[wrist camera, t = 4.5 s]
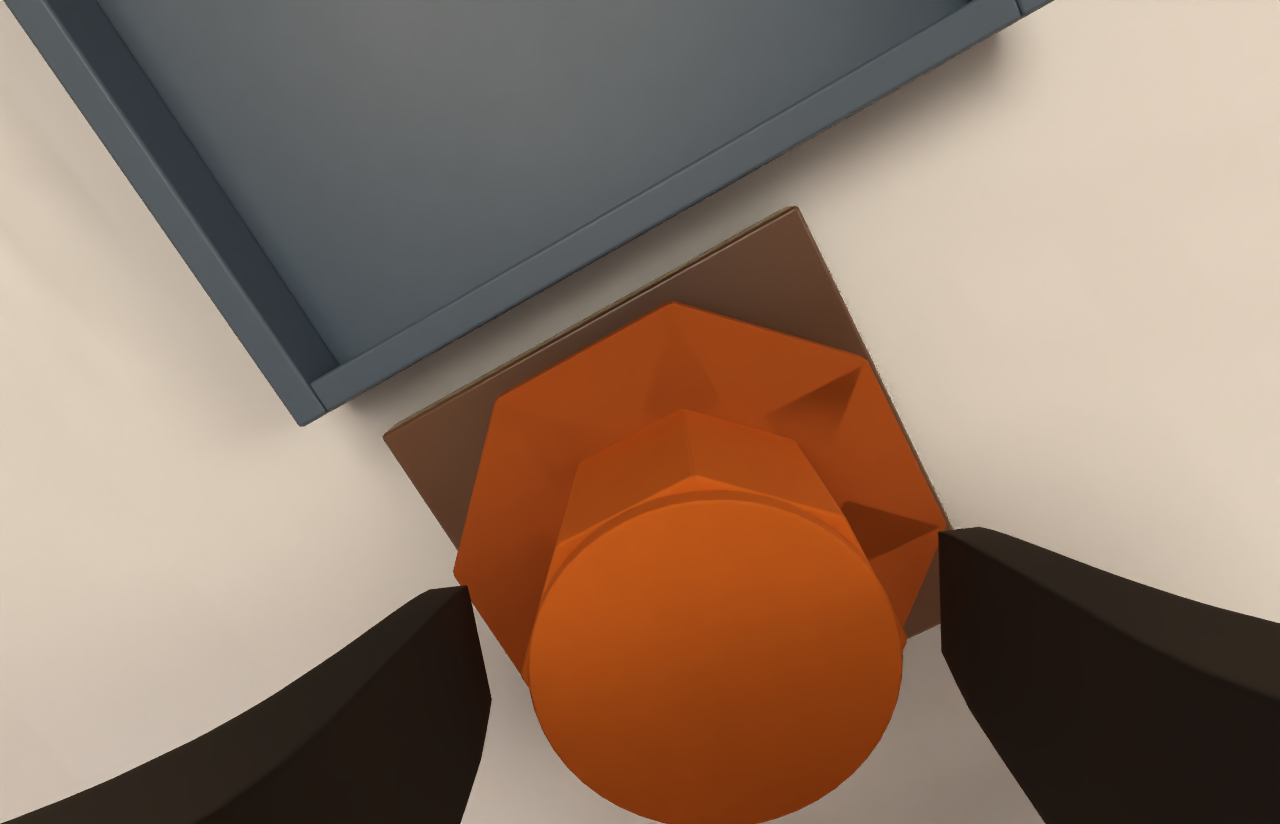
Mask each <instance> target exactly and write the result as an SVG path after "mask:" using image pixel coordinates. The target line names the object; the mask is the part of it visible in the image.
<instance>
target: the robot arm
mask: <svg viewBox="0 0 1280 824" xmlns="http://www.w3.org/2000/svg"><path fill="white" fill-rule="evenodd" d="M938 549H939V583H940V617H941V651H942V654H943V656H944V658H945V660H946V662H947V664H948V667H949V669H950V671H951V673H952V675H953V677H954V680H955V682H956V684H957V686H958V688H959V690H960V692H961V694H962V696H963V698H964V700H965V702H966V704H967V706H968V708H969V710H970V711H971V713H972V714H973V716H974V717H975V719H976V720H977V722H978V724H979V725H980V727H981V728H982V730H983V731H984V733H985V734H986V736H987V737H988V739H989V740H990V742H991V743H992V745H993V746H994V748H995V749H996V751H997V752H998V754H999V755H1000V757H1001V758H1002V760H1003V761H1004V763H1005V764H1006V766H1007V767H1008V769H1009V770H1010V772H1011V773H1012V775H1013V776H1014V778H1015V779H1016V781H1017V782H1018V784H1019V785H1020V787H1021V788H1022V790H1023V791H1024V793H1025V794H1026V796H1027V797H1028V799H1029V800H1030V802H1031V803H1032V805H1033V806H1034V808H1035V809H1036V811H1037V812H1038V813H1039V815H1040V816H1041V818H1042V819H1043V821H1044V822H1045V824H1280V623H1276V622H1272V621H1268V620H1264V619H1260V618H1256V617H1253V616H1249V615H1245V614H1241V613H1237V612H1233V611H1229V610H1225V609H1221V608H1218V607H1214V606H1211V605H1207V604H1204V603H1200V602H1197V601H1193V600H1190V599H1187V598H1183V597H1180V596H1177V595H1174V594H1171V593H1168V592H1165V591H1162V590H1159V589H1156V588H1153V587H1149V586H1146V585H1143V584H1140V583H1137V582H1134V581H1131V580H1129V579H1126V578H1123V577H1120V576H1117V575H1114V574H1111V573H1109V572H1106V571H1103V570H1100V569H1098V568H1095V567H1092V566H1090V565H1087V564H1084V563H1082V562H1079V561H1076V560H1073V559H1071V558H1068V557H1066V556H1063V555H1060V554H1058V553H1055V552H1052V551H1050V550H1047V549H1045V548H1042V547H1039V546H1037V545H1034V544H1031V543H1029V542H1026V541H1023V540H1021V539H1018V538H1015V537H1012V536H1009V535H1006V534H1003V533H1000V532H997V531H994V530H990V529H986V528H982V527H974V528H966V529H957V530H948V531H939V532H938ZM491 701H492V698H491V694H490V689H489V684H488V679H487V675H486V670H485V665H484V660H483V655H482V651H481V646H480V641H479V636H478V632H477V627H476V622H475V617H474V613H473V608H472V603H471V598H470V594H469V589H468V585H465V586H456V587H448V588H439V589H430V590H428V591H426V592H424V593H422V594H420V595H418V596H417V597H415V598H414V599H412V600H410V601H409V602H407V603H406V604H404V605H403V606H402V607H400V608H399V609H397V610H396V611H394V612H393V613H392V614H390V615H389V616H387V617H386V618H385V619H383V620H382V621H380V622H379V623H378V624H376V625H375V626H374V627H372V628H371V629H369V630H368V631H367V632H365V633H364V634H362V635H361V636H360V637H358V638H357V639H355V640H354V641H353V642H351V643H350V644H348V645H347V646H346V647H344V648H343V649H341V650H340V651H339V652H337V653H336V654H334V655H333V656H331V657H330V658H328V659H327V660H325V661H324V662H322V663H321V664H319V665H318V666H316V667H315V668H313V669H312V670H310V671H309V672H307V673H306V674H304V675H303V676H301V677H300V678H298V679H297V680H295V681H294V682H292V683H291V684H289V685H288V686H286V687H285V688H283V689H282V690H280V691H279V692H277V693H275V694H274V695H272V696H271V697H269V698H267V699H266V700H264V701H262V702H261V703H259V704H257V705H256V706H254V707H252V708H251V709H249V710H247V711H246V712H244V713H242V714H240V715H238V716H237V717H235V718H233V719H231V720H229V721H228V722H226V723H224V724H222V725H220V726H219V727H217V728H215V729H213V730H211V731H210V732H208V733H206V734H204V735H202V736H200V737H198V738H196V739H194V740H192V741H190V742H188V743H186V744H184V745H182V746H180V747H178V748H176V749H174V750H172V751H170V752H167V753H165V754H163V755H161V756H159V757H157V758H155V759H153V760H151V761H149V762H147V763H144V764H142V765H140V766H138V767H136V768H134V769H132V770H130V771H128V772H126V773H123V774H121V775H119V776H117V777H115V778H113V779H110V780H108V781H106V782H104V783H101V784H99V785H97V786H94V787H92V788H89V789H87V790H85V791H82V792H80V793H77V794H75V795H73V796H70V797H68V798H66V799H63V800H61V801H58V802H56V803H53V804H51V805H48V806H45V807H43V808H40V809H38V810H35V811H33V812H30V813H27V814H25V815H22V816H20V817H17V818H15V819H12V820H9V821H7V822H4V823H1V824H460V823H461V820H462V817H463V814H464V811H465V808H466V805H467V802H468V799H469V796H470V792H471V789H472V786H473V783H474V780H475V777H476V774H477V771H478V767H479V764H480V761H481V757H482V752H483V747H484V741H485V736H486V731H487V725H488V719H489V713H490V707H491Z"/></svg>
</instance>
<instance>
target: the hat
mask: <svg viewBox="0 0 1280 824" xmlns="http://www.w3.org/2000/svg"><path fill="white" fill-rule="evenodd" d="M945 529H946V522H945V520H944V518H943V516H942V514H941V511H940V509H939V507H938V505H937V503H936V501H935V499H934V497H933V495H932V493H931V491H930V489H929V487H928V484H927V482H926V480H925V478H924V476H923V474H922V472H921V470H920V468H919V466H918V464H917V462H916V460H915V458H914V455H913V453H912V451H911V449H910V447H909V445H908V443H907V441H906V439H905V437H904V435H903V433H902V431H901V429H900V426H899V424H898V422H897V420H896V418H895V416H894V414H893V412H892V410H891V408H890V406H889V404H888V402H887V400H886V397H885V395H884V393H883V391H882V389H881V387H880V385H879V383H878V381H877V379H876V377H875V375H874V373H873V371H872V368H871V366H870V364H869V362H868V361H867V360H866V359H865V358H863V357H862V356H860V355H858V354H855V353H851V352H848V351H844V350H841V349H838V348H834V347H831V346H827V345H824V344H820V343H817V342H814V341H810V340H807V339H803V338H800V337H796V336H793V335H790V334H786V333H783V332H779V331H776V330H772V329H769V328H766V327H762V326H759V325H755V324H752V323H748V322H745V321H741V320H738V319H735V318H731V317H728V316H724V315H721V314H717V313H714V312H711V311H707V310H704V309H700V308H697V307H693V306H690V305H687V304H683V303H680V302H676V301H668V302H666V303H664V304H663V305H661V306H659V307H657V308H655V309H654V310H652V311H650V312H648V313H646V314H644V315H643V316H641V317H639V318H637V319H635V320H634V321H632V322H630V323H628V324H626V325H625V326H623V327H621V328H619V329H617V330H615V331H614V332H612V333H610V334H608V335H606V336H605V337H603V338H601V339H599V340H597V341H595V342H594V343H592V344H590V345H588V346H586V347H585V348H583V349H581V350H579V351H577V352H576V353H574V354H572V355H570V356H568V357H566V358H565V359H563V360H561V361H559V362H557V363H556V364H554V365H552V366H550V367H548V368H547V369H545V370H543V371H541V372H539V373H537V374H536V375H534V376H532V377H530V378H528V379H527V380H525V381H523V382H521V383H519V384H517V385H516V386H514V387H512V388H510V389H508V390H507V391H505V392H503V393H501V394H500V395H499V397H498V398H497V399H496V400H495V402H494V406H493V410H492V414H491V419H490V423H489V427H488V431H487V435H486V439H485V443H484V447H483V451H482V455H481V459H480V464H479V468H478V472H477V476H476V480H475V484H474V488H473V492H472V496H471V500H470V505H469V509H468V513H467V517H466V521H465V525H464V529H463V533H462V537H461V541H460V546H459V550H458V554H457V558H456V562H455V566H454V570H453V573H454V576H455V578H456V579H457V581H458V582H459V584H460V585H461V586H465V585H468V589H469V594H470V598H471V602H472V603H473V605H474V606H475V607H476V609H477V610H478V612H479V613H480V615H481V616H482V618H483V619H484V621H485V622H486V624H487V625H488V627H489V628H490V630H491V631H492V633H493V634H494V636H495V637H496V639H497V640H498V642H499V643H500V645H501V646H502V647H503V649H504V650H505V652H506V653H507V655H508V656H509V658H510V659H511V661H512V662H513V664H514V665H515V667H516V668H517V670H518V671H519V673H520V674H521V676H522V678H523V680H524V681H525V683H526V684H527V686H528V687H529V689H530V694H531V698H532V702H533V706H534V710H535V713H536V715H537V718H538V720H539V723H540V725H541V728H542V730H543V732H544V734H545V736H546V737H547V739H548V741H549V743H550V744H551V746H552V748H553V749H554V751H555V752H556V754H557V755H558V756H559V757H560V759H561V760H562V761H563V762H564V764H565V765H566V766H567V768H569V769H570V770H571V771H572V772H573V773H574V774H575V775H576V776H577V777H578V778H579V779H580V780H581V781H582V782H583V783H584V784H585V785H587V786H588V787H589V788H591V789H592V790H593V791H595V792H596V793H597V794H599V795H600V796H602V797H603V798H605V799H607V800H608V801H610V802H612V803H614V804H615V805H617V806H619V807H621V808H623V809H625V810H628V811H630V812H632V813H635V814H637V815H639V816H642V817H645V818H649V819H652V820H655V821H658V822H662V823H667V824H757V823H761V822H765V821H769V820H773V819H776V818H779V817H782V816H785V815H787V814H790V813H793V812H795V811H798V810H800V809H802V808H804V807H806V806H808V805H810V804H811V803H813V802H815V801H817V800H819V799H820V798H822V797H823V796H825V795H826V794H828V793H829V792H831V791H832V790H834V789H835V788H837V787H838V786H839V785H840V784H841V783H843V782H844V781H845V780H846V779H847V778H848V777H850V776H851V775H852V774H853V773H854V772H855V771H856V770H857V769H858V768H859V767H860V765H861V764H862V763H863V762H864V761H865V760H866V759H867V758H868V756H869V755H870V754H871V752H872V751H873V749H874V748H875V747H876V745H877V744H878V742H879V741H880V739H881V737H882V735H883V734H884V732H885V730H886V728H887V726H888V724H889V722H890V720H891V717H892V714H893V711H894V709H895V706H896V703H897V700H898V695H899V690H900V685H901V680H902V664H903V653H902V652H903V649H904V647H905V645H906V642H907V635H906V633H905V631H904V629H903V627H904V625H905V622H906V620H907V618H908V615H909V613H910V611H911V608H912V606H913V604H914V601H915V599H916V597H917V594H918V592H919V590H920V587H921V585H922V583H923V580H924V578H925V576H926V573H927V571H928V569H929V566H930V564H931V561H932V559H933V557H934V554H935V552H936V550H937V547H938V532H939V531H945Z"/></svg>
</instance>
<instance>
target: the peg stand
mask: <svg viewBox="0 0 1280 824" xmlns="http://www.w3.org/2000/svg"><path fill="white" fill-rule="evenodd" d="M668 301H676V302H680V303H683V304H687V305H690V306H693V307H697V308H700V309H704V310H707V311H711V312H714V313H717V314H721V315H724V316H728V317H731V318H735V319H738V320H741V321H745V322H748V323H752V324H755V325H759V326H762V327H766V328H769V329H772V330H776V331H779V332H783V333H786V334H790V335H793V336H796V337H800V338H803V339H807V340H810V341H814V342H817V343H820V344H824V345H827V346H831V347H834V348H838V349H841V350H844V351H848V352H851V353H855V354H858V355H860V356H862V357H863V358H865V359H866V360H867V361H868V362H869V364H870V366H871V368H872V371H873V373H874V375H875V377H876V379H877V381H878V383H879V385H880V387H881V389H882V391H883V393H884V395H885V397H886V400H887V402H888V404H889V406H890V408H891V410H892V412H893V414H894V416H895V418H896V420H897V422H898V424H899V426H900V429H901V431H902V433H903V435H904V437H905V439H906V441H907V443H908V445H909V447H910V449H911V451H912V453H913V455H914V458H915V460H916V462H917V464H918V466H919V468H920V470H921V472H922V474H923V476H924V478H925V480H926V482H927V484H928V487H929V489H930V491H931V493H932V495H933V497H934V499H935V501H936V503H937V505H938V507H939V509H940V511H941V514H942V516H943V518H944V520H945V522H946V529H945V531H948V530H953V528H952V526H951V523H950V521H949V519H948V517H947V515H946V513H945V511H944V509H943V507H942V505H941V503H940V501H939V499H938V496H937V494H936V492H935V490H934V488H933V486H932V484H931V482H930V480H929V478H928V476H927V474H926V472H925V469H924V467H923V465H922V463H921V461H920V459H919V457H918V455H917V453H916V451H915V449H914V447H913V444H912V442H911V440H910V438H909V436H908V434H907V432H906V430H905V428H904V426H903V424H902V422H901V420H900V417H899V415H898V413H897V411H896V409H895V407H894V405H893V403H892V401H891V399H890V397H889V395H888V392H887V390H886V388H885V386H884V384H883V382H882V380H881V378H880V376H879V374H878V372H877V370H876V368H875V365H874V363H873V361H872V359H871V357H870V355H869V353H868V351H867V349H866V347H865V345H864V343H863V341H862V338H861V336H860V334H859V332H858V330H857V328H856V326H855V324H854V322H853V320H852V318H851V316H850V313H849V311H848V309H847V307H846V305H845V303H844V301H843V299H842V297H841V295H840V293H839V291H838V289H837V286H836V284H835V282H834V280H833V278H832V276H831V274H830V272H829V270H828V268H827V266H826V264H825V262H824V259H823V257H822V255H821V253H820V251H819V249H818V247H817V245H816V243H815V241H814V239H813V237H812V234H811V232H810V230H809V228H808V226H807V224H806V222H805V220H804V218H803V216H802V214H801V212H800V210H799V208H798V207H797V206H789V207H785V208H783V209H781V210H780V211H778V212H776V213H774V214H772V215H771V216H769V217H767V218H765V219H764V220H762V221H760V222H758V223H756V224H755V225H753V226H751V227H749V228H747V229H746V230H744V231H742V232H740V233H738V234H737V235H735V236H733V237H731V238H729V239H728V240H726V241H724V242H722V243H720V244H719V245H717V246H715V247H713V248H711V249H710V250H708V251H706V252H704V253H702V254H701V255H699V256H697V257H695V258H694V259H692V260H690V261H688V262H686V263H685V264H683V265H681V266H679V267H677V268H676V269H674V270H672V271H670V272H668V273H667V274H665V275H663V276H661V277H659V278H658V279H656V280H654V281H652V282H650V283H649V284H647V285H645V286H643V287H641V288H640V289H638V290H636V291H634V292H632V293H631V294H629V295H627V296H625V297H624V298H622V299H620V300H618V301H616V302H615V303H613V304H611V305H609V306H607V307H606V308H604V309H602V310H600V311H598V312H597V313H595V314H593V315H591V316H589V317H588V318H586V319H584V320H582V321H580V322H579V323H577V324H575V325H573V326H571V327H570V328H568V329H566V330H564V331H562V332H561V333H559V334H557V335H555V336H554V337H552V338H550V339H548V340H546V341H545V342H543V343H541V344H539V345H537V346H536V347H534V348H532V349H530V350H528V351H527V352H525V353H523V354H521V355H519V356H518V357H516V358H514V359H512V360H510V361H509V362H507V363H505V364H503V365H501V366H500V367H498V368H496V369H494V370H492V371H491V372H489V373H487V374H485V375H484V376H482V377H480V378H478V379H476V380H475V381H473V382H471V383H469V384H467V385H466V386H464V387H462V388H460V389H458V390H457V391H455V392H453V393H451V394H449V395H448V396H446V397H444V398H442V399H440V400H439V401H437V402H435V403H433V404H431V405H430V406H428V407H426V408H424V409H422V410H421V411H419V412H417V413H415V414H414V415H412V416H410V417H408V418H406V419H405V420H403V421H401V422H399V423H397V424H396V425H394V426H393V427H392V428H391V429H389V430H388V431H387V432H386V433H385V434H384V435H383V439H384V441H385V442H386V444H387V445H388V447H389V448H390V450H391V451H392V453H393V454H394V456H395V457H396V459H397V460H398V462H399V463H400V465H401V466H402V468H403V469H404V471H405V472H406V474H407V475H408V477H409V478H410V480H411V481H412V483H413V484H414V486H415V487H416V489H417V490H418V492H419V493H420V495H421V496H422V498H423V499H424V501H425V502H426V504H427V505H428V507H429V508H430V510H431V511H432V513H433V514H434V516H435V517H436V519H437V520H438V522H439V523H440V525H441V526H442V528H443V529H444V531H445V532H446V534H447V535H448V537H449V538H450V540H451V541H452V543H453V544H454V546H455V547H456V549H457V550H459V546H460V541H461V537H462V533H463V529H464V525H465V521H466V517H467V513H468V509H469V505H470V500H471V496H472V492H473V488H474V484H475V480H476V476H477V472H478V468H479V464H480V459H481V455H482V451H483V447H484V443H485V439H486V435H487V431H488V427H489V423H490V419H491V414H492V410H493V406H494V402H495V400H496V399H497V398H498V397H499V395H500V394H501V393H503V392H505V391H507V390H508V389H510V388H512V387H514V386H516V385H517V384H519V383H521V382H523V381H525V380H527V379H528V378H530V377H532V376H534V375H536V374H537V373H539V372H541V371H543V370H545V369H547V368H548V367H550V366H552V365H554V364H556V363H557V362H559V361H561V360H563V359H565V358H566V357H568V356H570V355H572V354H574V353H576V352H577V351H579V350H581V349H583V348H585V347H586V346H588V345H590V344H592V343H594V342H595V341H597V340H599V339H601V338H603V337H605V336H606V335H608V334H610V333H612V332H614V331H615V330H617V329H619V328H621V327H623V326H625V325H626V324H628V323H630V322H632V321H634V320H635V319H637V318H639V317H641V316H643V315H644V314H646V313H648V312H650V311H652V310H654V309H655V308H657V307H659V306H661V305H663V304H664V303H666V302H668ZM939 624H941V617H940V583H939V549H938V547H937V550H936V552H935V554H934V557H933V559H932V561H931V564H930V566H929V569H928V571H927V573H926V576H925V578H924V580H923V583H922V585H921V587H920V590H919V592H918V594H917V597H916V599H915V601H914V604H913V606H912V608H911V611H910V613H909V615H908V618H907V620H906V622H905V625H904V627H903V629H904V631H905V633H906V635H907V639H908V638H910V637H913V636H915V635H917V634H919V633H921V632H924V631H926V630H928V629H930V628H932V627H934V626H937V625H939Z"/></svg>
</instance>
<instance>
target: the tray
mask: <svg viewBox="0 0 1280 824" xmlns="http://www.w3.org/2000/svg"><path fill="white" fill-rule="evenodd" d="M1052 1H1054V0H4V2H5V3H6V5H7V6H8V8H9V9H10V11H11V12H12V13H13V15H14V16H15V18H16V19H17V21H18V22H19V23H20V25H21V26H22V28H23V29H24V31H25V32H26V34H27V35H28V36H29V38H30V39H31V41H32V42H33V44H34V45H35V46H36V48H37V49H38V51H39V52H40V54H41V55H42V57H43V58H44V59H45V61H46V62H47V64H48V65H49V67H50V68H51V70H52V71H53V72H54V74H55V75H56V77H57V78H58V80H59V81H60V82H61V84H62V85H63V87H64V88H65V90H66V91H67V93H68V94H69V95H70V97H71V98H72V100H73V101H74V103H75V104H76V106H77V107H78V108H79V110H80V111H81V113H82V114H83V116H84V117H85V118H86V120H87V121H88V123H89V124H90V126H91V127H92V129H93V130H94V131H95V133H96V134H97V136H98V137H99V139H100V140H101V142H102V143H103V144H104V146H105V147H106V149H107V150H108V152H109V153H110V154H111V156H112V157H113V159H114V160H115V162H116V163H117V165H118V166H119V167H120V169H121V170H122V172H123V173H124V175H125V176H126V178H127V179H128V180H129V182H130V183H131V185H132V186H133V188H134V189H135V190H136V192H137V193H138V195H139V196H140V198H141V199H142V201H143V202H144V203H145V205H146V206H147V208H148V209H149V211H150V212H151V213H152V215H153V216H154V218H155V219H156V221H157V222H158V224H159V225H160V226H161V228H162V229H163V231H164V232H165V234H166V235H167V237H168V238H169V239H170V241H171V242H172V244H173V245H174V247H175V248H176V249H177V251H178V252H179V254H180V255H181V257H182V258H183V260H184V261H185V262H186V264H187V265H188V267H189V268H190V270H191V271H192V273H193V274H194V275H195V277H196V278H197V280H198V281H199V283H200V284H201V285H202V287H203V288H204V290H205V291H206V293H207V294H208V296H209V297H210V298H211V300H212V301H213V303H214V304H215V306H216V307H217V309H218V310H219V311H220V313H221V314H222V316H223V317H224V319H225V320H226V321H227V323H228V324H229V326H230V327H231V329H232V330H233V332H234V333H235V334H236V336H237V337H238V339H239V340H240V342H241V343H242V344H243V346H244V347H245V349H246V350H247V352H248V353H249V355H250V356H251V357H252V359H253V360H254V362H255V363H256V365H257V366H258V368H259V369H260V370H261V372H262V373H263V375H264V376H265V378H266V379H267V380H268V382H269V383H270V385H271V386H272V388H273V389H274V391H275V392H276V393H277V395H278V396H279V398H280V399H281V401H282V402H283V404H284V405H285V406H286V408H287V409H288V411H289V412H290V414H291V415H292V416H293V418H294V419H295V421H296V422H297V424H298V425H299V426H300V427H302V426H306V425H307V424H309V423H311V422H313V421H315V420H316V419H318V418H320V417H322V416H323V415H325V414H327V413H328V412H330V411H332V410H334V409H336V408H337V407H339V406H341V405H343V404H344V403H346V402H348V401H350V400H351V399H353V398H355V397H357V396H359V395H360V394H362V393H364V392H366V391H367V390H369V389H371V388H373V387H374V386H376V385H378V384H380V383H381V382H383V381H385V380H387V379H388V378H390V377H392V376H394V375H395V374H397V373H399V372H401V371H403V370H404V369H406V368H408V367H410V366H411V365H413V364H415V363H417V362H418V361H420V360H422V359H424V358H425V357H427V356H429V355H431V354H432V353H434V352H436V351H438V350H439V349H441V348H443V347H445V346H447V345H448V344H450V343H452V342H454V341H455V340H457V339H459V338H461V337H462V336H464V335H466V334H468V333H469V332H471V331H473V330H475V329H476V328H478V327H480V326H482V325H483V324H485V323H487V322H489V321H491V320H492V319H494V318H496V317H498V316H499V315H501V314H503V313H505V312H506V311H508V310H510V309H512V308H513V307H515V306H517V305H519V304H520V303H522V302H524V301H526V300H527V299H529V298H531V297H533V296H535V295H536V294H538V293H540V292H542V291H543V290H545V289H547V288H549V287H550V286H552V285H554V284H556V283H557V282H559V281H561V280H563V279H564V278H566V277H568V276H570V275H571V274H573V273H575V272H577V271H579V270H580V269H582V268H584V267H586V266H587V265H589V264H591V263H593V262H594V261H596V260H598V259H600V258H601V257H603V256H605V255H607V254H608V253H610V252H612V251H614V250H615V249H617V248H619V247H621V246H623V245H624V244H626V243H628V242H630V241H631V240H633V239H635V238H637V237H638V236H640V235H642V234H644V233H645V232H647V231H649V230H651V229H652V228H654V227H656V226H658V225H660V224H661V223H663V222H665V221H667V220H668V219H670V218H672V217H674V216H675V215H677V214H679V213H681V212H682V211H684V210H686V209H688V208H689V207H691V206H693V205H695V204H696V203H698V202H700V201H702V200H704V199H705V198H707V197H709V196H711V195H712V194H714V193H716V192H718V191H719V190H721V189H723V188H725V187H726V186H728V185H730V184H732V183H733V182H735V181H737V180H739V179H740V178H742V177H744V176H746V175H748V174H749V173H751V172H753V171H755V170H756V169H758V168H760V167H762V166H763V165H765V164H767V163H769V162H770V161H772V160H774V159H776V158H777V157H779V156H781V155H783V154H784V153H786V152H788V151H790V150H792V149H793V148H795V147H797V146H799V145H800V144H802V143H804V142H806V141H807V140H809V139H811V138H813V137H814V136H816V135H818V134H820V133H821V132H823V131H825V130H827V129H828V128H830V127H832V126H834V125H836V124H837V123H839V122H841V121H843V120H844V119H846V118H848V117H850V116H851V115H853V114H855V113H857V112H858V111H860V110H862V109H864V108H865V107H867V106H869V105H871V104H872V103H874V102H876V101H878V100H880V99H881V98H883V97H885V96H887V95H888V94H890V93H892V92H894V91H895V90H897V89H899V88H901V87H902V86H904V85H906V84H908V83H909V82H911V81H913V80H915V79H916V78H918V77H920V76H922V75H924V74H925V73H927V72H929V71H931V70H932V69H934V68H936V67H938V66H939V65H941V64H943V63H945V62H946V61H948V60H950V59H952V58H953V57H955V56H957V55H959V54H960V53H962V52H964V51H966V50H968V49H969V48H971V47H973V46H975V45H976V44H978V43H980V42H982V41H983V40H985V39H987V38H989V37H990V36H992V35H994V34H996V33H997V32H999V31H1001V30H1003V29H1005V28H1006V27H1008V26H1010V25H1012V24H1013V23H1015V22H1017V21H1018V20H1020V19H1022V18H1024V17H1026V16H1027V15H1029V14H1031V13H1033V12H1034V11H1036V10H1038V9H1040V8H1041V7H1043V6H1045V5H1047V4H1049V3H1050V2H1052Z"/></svg>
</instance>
